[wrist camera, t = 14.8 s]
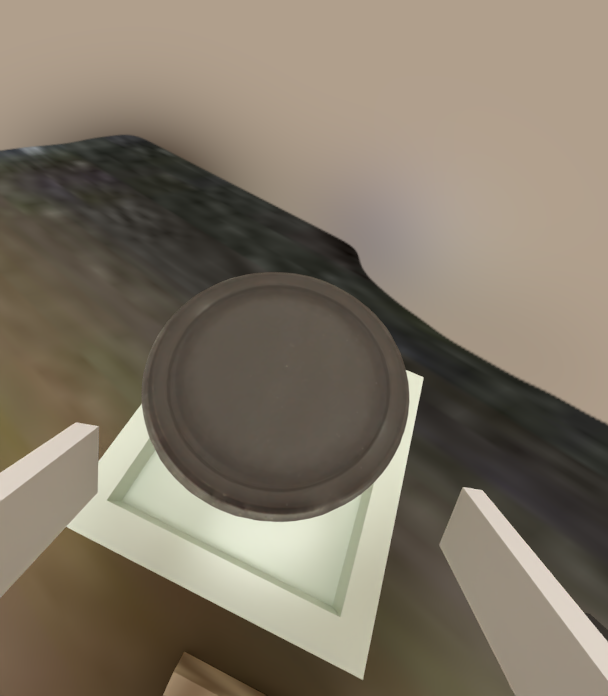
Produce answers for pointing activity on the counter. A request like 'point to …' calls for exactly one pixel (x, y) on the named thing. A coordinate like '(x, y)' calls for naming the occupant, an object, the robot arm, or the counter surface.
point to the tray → (255, 547)
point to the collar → (204, 681)
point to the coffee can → (275, 396)
